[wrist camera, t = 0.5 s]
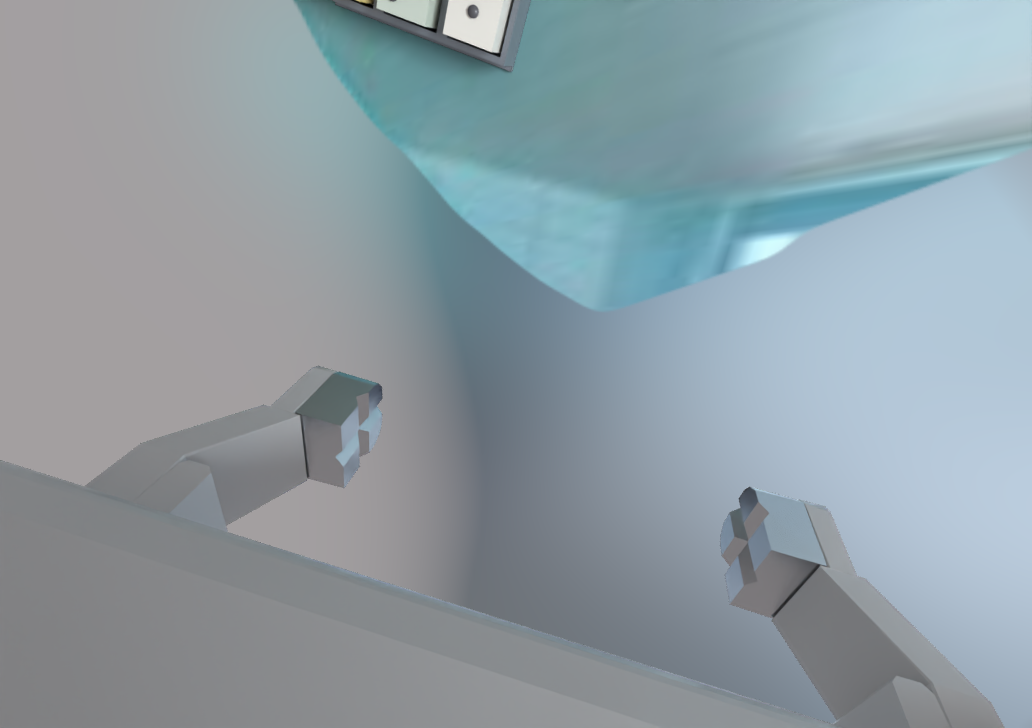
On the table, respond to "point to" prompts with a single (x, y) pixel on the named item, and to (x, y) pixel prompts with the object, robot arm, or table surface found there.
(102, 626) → the robot arm
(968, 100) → the table surface
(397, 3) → the tile two
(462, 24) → the tile one
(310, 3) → the table surface
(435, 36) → the console
